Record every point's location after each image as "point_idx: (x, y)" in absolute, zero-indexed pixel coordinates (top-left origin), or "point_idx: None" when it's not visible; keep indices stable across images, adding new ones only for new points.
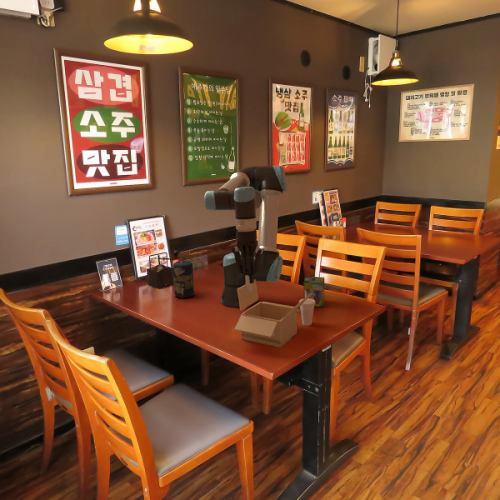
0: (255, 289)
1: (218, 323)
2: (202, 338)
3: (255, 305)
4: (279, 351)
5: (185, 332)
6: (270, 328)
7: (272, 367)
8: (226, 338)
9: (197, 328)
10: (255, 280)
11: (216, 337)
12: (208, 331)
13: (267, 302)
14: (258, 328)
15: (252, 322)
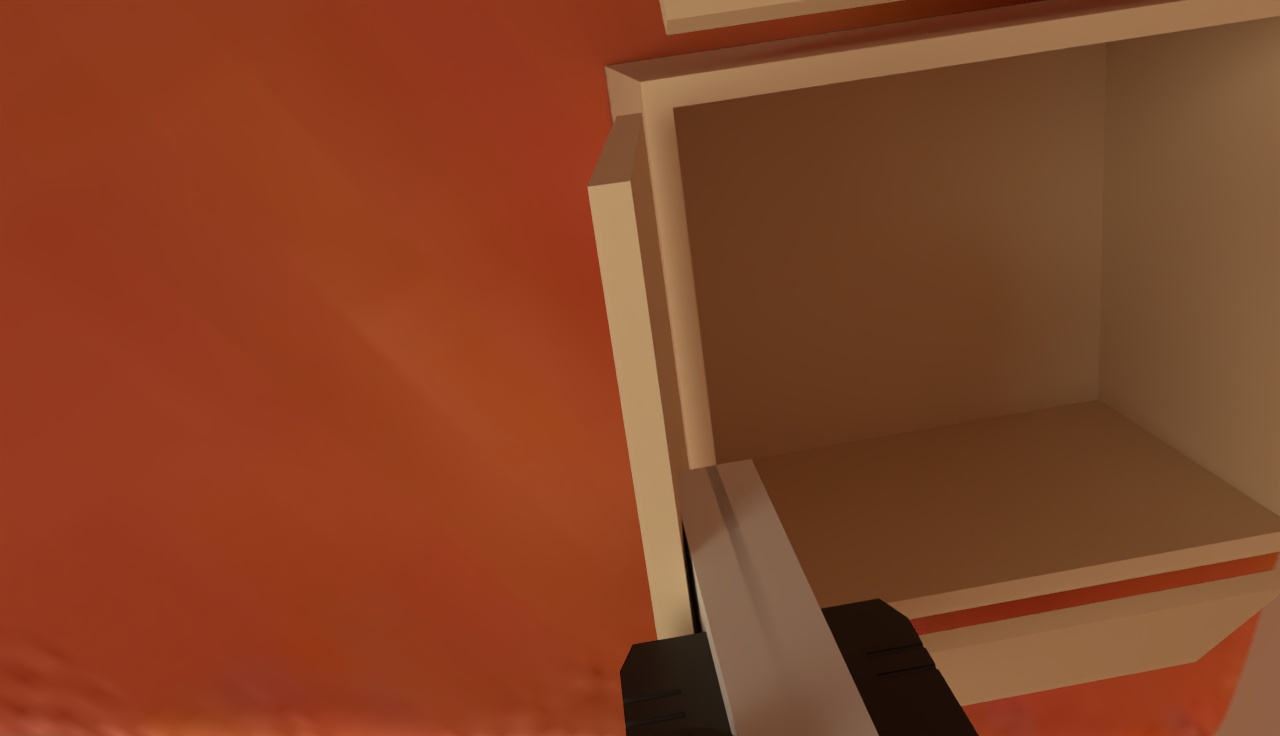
0: (646, 215)
1: (105, 324)
2: (309, 695)
3: (684, 268)
4: None
5: (33, 708)
6: (1191, 634)
7: (1183, 700)
8: (513, 559)
9: (38, 571)
10: (634, 196)
11: (409, 601)
12: (213, 553)
13: (778, 6)
14: (1038, 672)
15: (944, 673)
